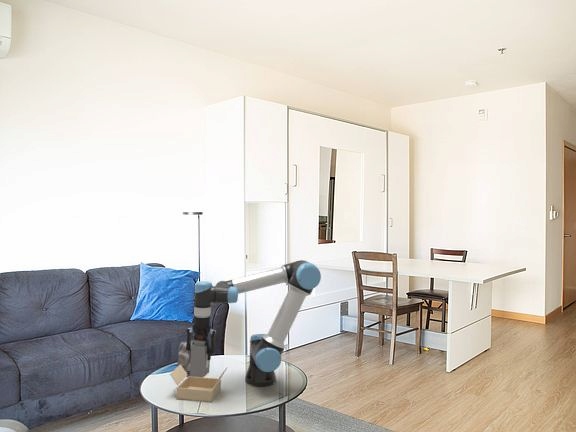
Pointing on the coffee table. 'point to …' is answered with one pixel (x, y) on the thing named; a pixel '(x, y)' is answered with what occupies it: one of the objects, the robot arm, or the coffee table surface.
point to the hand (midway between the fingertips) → (199, 366)
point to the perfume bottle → (199, 358)
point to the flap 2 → (219, 378)
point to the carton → (198, 389)
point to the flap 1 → (178, 374)
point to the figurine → (184, 356)
